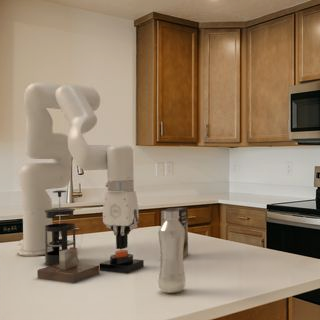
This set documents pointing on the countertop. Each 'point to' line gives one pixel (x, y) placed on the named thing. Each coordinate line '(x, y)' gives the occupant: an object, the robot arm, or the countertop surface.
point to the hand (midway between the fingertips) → (122, 248)
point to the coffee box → (184, 221)
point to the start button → (121, 253)
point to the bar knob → (68, 258)
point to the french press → (56, 243)
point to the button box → (121, 264)
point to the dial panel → (68, 273)
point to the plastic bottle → (171, 253)
